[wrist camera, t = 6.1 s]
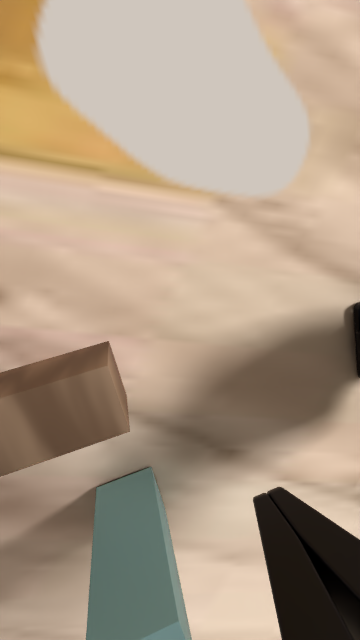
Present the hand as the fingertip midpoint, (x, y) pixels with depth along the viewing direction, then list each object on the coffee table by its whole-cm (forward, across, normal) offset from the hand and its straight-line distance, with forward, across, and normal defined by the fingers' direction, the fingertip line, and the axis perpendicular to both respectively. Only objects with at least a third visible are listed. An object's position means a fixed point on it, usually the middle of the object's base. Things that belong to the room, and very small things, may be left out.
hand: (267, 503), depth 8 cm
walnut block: (+10, +4, 0) cm, 11 cm away
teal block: (+12, +6, +10) cm, 16 cm away
